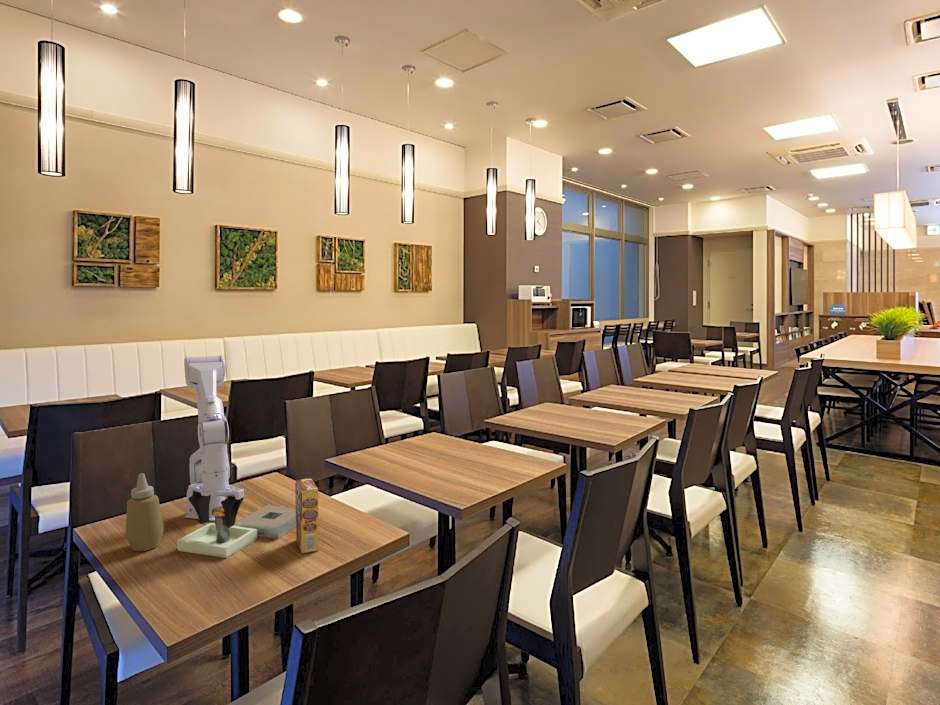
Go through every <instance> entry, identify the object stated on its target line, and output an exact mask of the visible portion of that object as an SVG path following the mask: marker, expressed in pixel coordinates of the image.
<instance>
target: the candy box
mask: <svg viewBox="0 0 940 705" xmlns="http://www.w3.org/2000/svg"><path fill="white" fill-rule="evenodd" d="M294 481H295V482H294V484H295V486H294V488H295V509H296V527H295V539H296V542H297V545H298V548H299V549H300V552H301V554H308V553H312V552H313V553H314V552H318V551H319V550H320V549H319V547H320V545H319V543H320V542H319V539H320V538H319V536H320V535H319V528H320V527H319V526H320V525H319V487H318V486H317V485H316V483H315V481H314V480H313V479H312V478H302V479H296V480H294Z"/></svg>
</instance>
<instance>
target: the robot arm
mask: <svg viewBox="0 0 940 705" xmlns="http://www.w3.org/2000/svg"><path fill="white" fill-rule="evenodd" d="M183 362H184V363H183V364H184V378H185V384H186V387H187V388H190V389H193V390H194V392H195V394H196V401H197V405H196V406H197V416H198V418H197V419H198V420H197V421H198V423H197V438H198V443H199V448H198V449H197V450H196V451H195V452H194V453H192V454H191V455H190V457H189V466H188V467H189V481H190V485H187V486H188V488H187V490H186V508H187V509H186V512H187V514H186V515H185V516H184V517H185V518H187V519H193V520H199V523H200V524H201V525H204V524H205V523H207V522H215V516H213V515H212V509H213V508H216V507H219V506H223V509H224V513H225V521H226V527H227V528H230V527H232V526H236V525H235V524H236V520H237V515H238V512H239V509H240V507H241V504H242V503H243V500H244V498H245V489H244V488H239V487H236V486H234V485H231V484H230V483H229V479H230V478H231V469H230V467H231V466H230V461H229V454H228V443H229V440H230V429H229V428H230V427H229V423H228V420H227V417H226V415H225V412H224V405H223V404H224V403H223V400H222V399H221V398H219V397H218V396H217V387H218V388H219V387H221V386H222V385H223V384H224V381H225V377H226V360H225V357H224V356H223V355H222V354H220V355H208V356H186V357H185V358H184V360H183Z"/></svg>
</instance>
